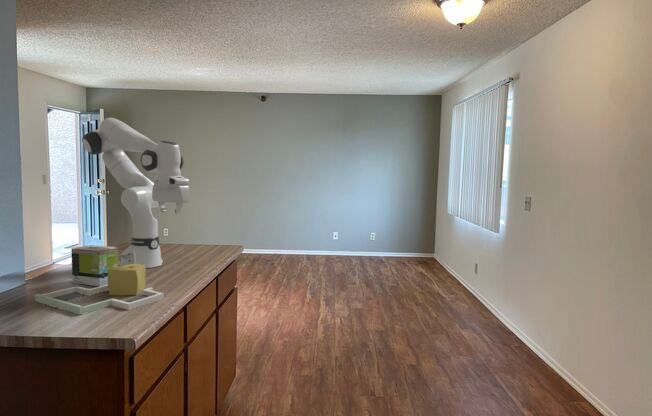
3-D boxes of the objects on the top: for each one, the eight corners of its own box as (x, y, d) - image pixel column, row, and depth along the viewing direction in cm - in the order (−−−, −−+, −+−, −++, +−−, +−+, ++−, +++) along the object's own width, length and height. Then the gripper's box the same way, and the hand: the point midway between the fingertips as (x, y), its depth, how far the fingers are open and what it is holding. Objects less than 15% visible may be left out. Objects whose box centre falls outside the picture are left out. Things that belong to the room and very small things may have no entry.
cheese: (119, 288, 160) (118, 263, 159) (147, 288, 161) (146, 263, 160) (107, 296, 150) (106, 269, 149) (137, 296, 151) (136, 269, 150)
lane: (35, 301, 142) (35, 294, 142) (109, 283, 167) (109, 277, 167) (97, 320, 126) (97, 312, 126) (169, 296, 151) (169, 290, 150)
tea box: (119, 281, 170) (118, 246, 169) (99, 287, 161) (98, 250, 159) (92, 277, 175) (91, 243, 174) (71, 283, 166) (70, 247, 164)
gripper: (147, 179, 172) (148, 211, 173) (179, 180, 161) (179, 214, 162) (160, 179, 177) (161, 210, 178) (191, 180, 166) (192, 213, 168)
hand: (170, 212), depth 170 cm, fingers open, 8 cm apart
